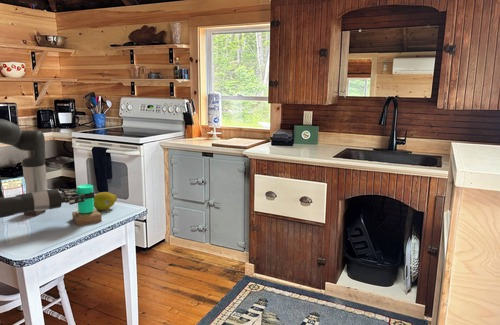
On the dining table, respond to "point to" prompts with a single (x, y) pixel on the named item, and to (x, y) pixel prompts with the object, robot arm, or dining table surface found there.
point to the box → (34, 213)
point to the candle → (88, 203)
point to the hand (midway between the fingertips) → (92, 193)
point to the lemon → (104, 200)
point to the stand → (86, 217)
